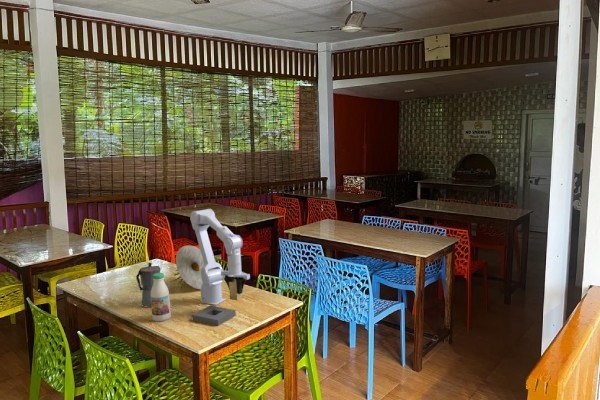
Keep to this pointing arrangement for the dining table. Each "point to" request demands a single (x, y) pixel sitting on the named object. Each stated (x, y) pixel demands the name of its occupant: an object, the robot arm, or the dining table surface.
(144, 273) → the moka pot
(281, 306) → the dining table surface
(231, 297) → the plug block
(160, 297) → the milk bottle
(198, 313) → the grey flat slab
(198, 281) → the disc
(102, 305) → the dining table surface
